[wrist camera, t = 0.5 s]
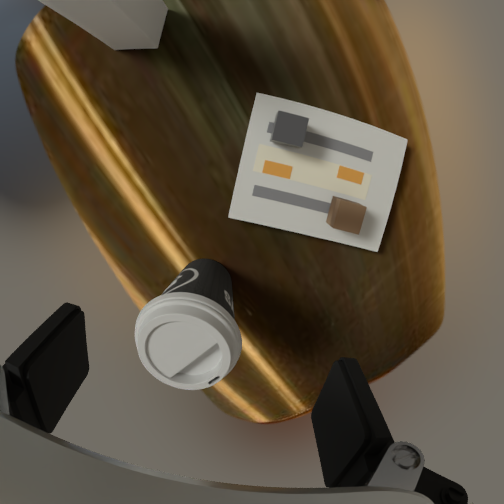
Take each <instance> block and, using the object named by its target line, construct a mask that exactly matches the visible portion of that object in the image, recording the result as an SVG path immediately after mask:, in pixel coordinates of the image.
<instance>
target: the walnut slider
mask: <svg viewBox="0 0 504 504" xmlns="http://www.w3.org/2000/svg"><path fill="white" fill-rule="evenodd" d="M366 209H367V207H366V206H363V205H361V204H359V203H357V202H353V201H350V200H346V199H343V198H339V197H336V196H333V197H332V201H331V205H330V208H329V212H328V216H327V219H326V223H328V224H329V225H330V226H331V227H332V228H334V229H338V230H342V231H346V232H350V233H354V234H358V235H359V233H360V230H361V226H362V223H363V219H364V216H365V212H366Z"/></svg>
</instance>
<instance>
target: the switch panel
mask: <svg viewBox="0 0 504 504" xmlns="http://www.w3.org/2000/svg"><path fill="white" fill-rule="evenodd" d="M278 111H283V112H287V113H291V114H295V115H299V116H303V117H306V118H309V121H308V125H307V130H306V134H305V138H304V142H303V146H302V148H295V147H291V146H287V145H283V144H279V143H275V142H270V138H271V134H272V130H273V125H274V121H275V117H276V114H277V112H278ZM406 145H407V139H405V138H402V137H400V136H397V135H395V134H392V133H390V132H387V131H385V130H382V129H379V128H377V127H374V126H371V125H369V124H366V123H363V122H360V121H357V120H354V119H351V118H348V117H345V116H342V115H339V114H336V113H333V112H330V111H326V110H323V109H320V108H316V107H313V106H309V105H305V104H302V103H298V102H294V101H290V100H286V99H282V98H278V97H274V96H270V95H265V94H261V93H257V94H256V98H255V102H254V106H253V110H252V114H251V118H250V123H249V127H248V131H247V135H246V140H245V144H244V148H243V153H242V157H241V161H240V166H239V170H238V175H237V179H236V184H235V188H234V193H233V197H232V202H231V207H230V211H229V216H228V218H233V219H238V220H242V221H247V222H252V223H256V224H261V225H265V226H270V227H274V228H279V229H283V230H287V231H292V232H296V233H300V234H305V235H309V236H313V237H318V238H322V239H326V240H330V241H334V242H339V243H343V244H347V245H351V246H355V247H359V248H363V249H367V250H371V251H375V252H378V249H379V246H380V243H381V240H382V236H383V233H384V230H385V227H386V223H387V220H388V216H389V213H390V209H391V206H392V202H393V199H394V195H395V191H396V187H397V183H398V180H399V176H400V171H401V167H402V163H403V159H404V154H405V150H406ZM333 196H336V197H339V198H343V199H346V200H350V201H353V202H357V203H359V204H361V205H363V206H366V207H367V209H366V212H365V216H364V219H363V223H362V226H361V230H360V233H359V235H358V234H354V233H350V232H346V231H342V230H338V229H334V228H332V227H331V226H330V225H329V224H328V223H326V219H327V216H328V212H329V208H330V205H331V201H332V197H333Z"/></svg>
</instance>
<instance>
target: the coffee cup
mask: <svg viewBox="0 0 504 504" xmlns="http://www.w3.org/2000/svg"><path fill="white" fill-rule="evenodd" d="M135 341H136V346H137V350H138V354H139V357H140V359H141V361H142V363H143V365H144V366H145V368H146V369H147V370H148V371H149V372H150V373H151V374H152V375H153V376H154V377H155V378H157V379H158V380H160V381H161V382H163V383H165V384H167V385H170V386H173V387H175V388H179V389H186V390H197V389H203V388H207V387H210V386H212V385H214V384H216V383H217V382H219V381H220V380H221V379H222V378H223V377H225V376H226V375H227V374H228V373H229V372H230V371H231V370H232V369H233V367H234V366H235V364H236V362H237V361H238V359H239V356H240V353H241V349H242V338H241V333H240V330H239V328H238V325H237V324H236V322H235V319H234V307H233V293H232V281H231V277H230V274H229V272H228V271H227V270H226V268H225V267H224V266H223V265H221V264H220V263H218V262H216V261H214V260H211V259H198V260H195V261H193V262H191V263H189V264H188V265H187V266H186V267H185V268H184V269H183V270H182V272H181V273H180V274H179V275H178V276H177V277H176V278H175V280H174V281H173V282H172V283H171V284H170V285H169V287H168V288H167V289H166V290H165V291H164V292H163V294H162V295H161V296H158V297H156V298H154V299H153V300H151V301H150V302H149V303H147V304H146V305H145V306H144V307H143V309H142V310H141V312H140V313H139V315H138V318H137V321H136V326H135Z"/></svg>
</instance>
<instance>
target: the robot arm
mask: <svg viewBox="0 0 504 504" xmlns="http://www.w3.org/2000/svg"><path fill="white" fill-rule="evenodd" d="M84 318H85V317H84V312H83V311H81V308H80V307H79V306H76V305H74V304H70V303H64V304H63V305H62V306H61V307H60V308H59V309H58V310H56V312H54V313H53V314H52V315H51V316H50V317H49V318H48V319H47V320H46V321H45V322H44V323H43V324H42V325H41V326H40V327H39V328H38V329H36V331H34V332H33V333H32V334H31V335H30V336H29V337H28V338H27V339H26V340H25V341H24V342H23V343H22V344H21V345H20V346H19V347H18V348H17V349H16V350H15V351H14V353H12V354H11V355H10V357H9V358H8V359H7V360H6V361H5V364H4V365H3V366H1V365H0V504H468V503H467V502H468V496H467V493H466V491H465V489H464V488H463V487H462V486H461V485H459V484H457V483H455V482H453V481H451V480H449V479H447V478H445V477H443V476H441V475H439V474H437V473H435V472H433V471H431V470H429V469H427V468H425V467H423V466H424V461H425V460H424V455H423V454H422V452H421V450H419V449H418V448H417V447H416V446H415V445H413V444H411V443H408V442H402V441H400V442H395V443H394V440H393V438H392V436H391V433H390V431H389V429H388V426H387V424H386V422H385V420H384V417H383V415H382V413H381V411H380V409H379V406H378V404H377V402H376V400H375V398H374V396H373V393H372V391H371V390H370V387H369V385H368V382H367V380H366V378H365V376H364V374H363V372H362V370H361V368H360V365H359V363H358V361H357V360H356V359H355V358H344V357H341V358H340V359H339V360H338V361H335V362H334V363H333V366H332V368H331V370H330V373H329V375H328V377H327V379H326V382H325V384H324V386H323V388H322V390H321V393H320V395H319V397H318V399H317V401H316V403H315V405H314V407H313V410H312V414H311V419H312V423H313V428H314V433H315V438H316V443H317V447H318V452H319V457H320V462H321V467H322V472H323V477H324V482H325V485H326V487H329V488H279V487H260V486H248V485H238V484H228V483H221V482H214V481H207V480H201V479H195V478H189V477H184V476H179V475H174V474H169V473H165V472H161V471H156V470H153V469H149V468H144V467H141V466H137V465H134V464H130V463H127V462H123V461H120V460H117V459H114V458H111V457H108V456H105V455H102V454H99V453H96V452H93V451H90V450H87V449H85V448H82V447H80V446H77V445H74V444H72V443H70V442H67V441H65V440H63V439H60V438H58V437H55V436H53V435H51V434H50V433H52V431H53V430H54V428H55V427H56V425H57V423H58V421H59V420H60V418H61V416H62V415H63V413H64V411H65V410H66V408H67V406H68V405H69V403H70V402H71V400H72V398H73V397H74V395H75V394H76V392H77V390H78V389H79V387H80V386H81V384H82V382H83V381H84V379H85V378H86V376H87V374H88V371H89V361H88V353H87V343H86V331H85V319H84ZM48 433H49V434H48ZM471 504H473V503H471Z"/></svg>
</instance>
